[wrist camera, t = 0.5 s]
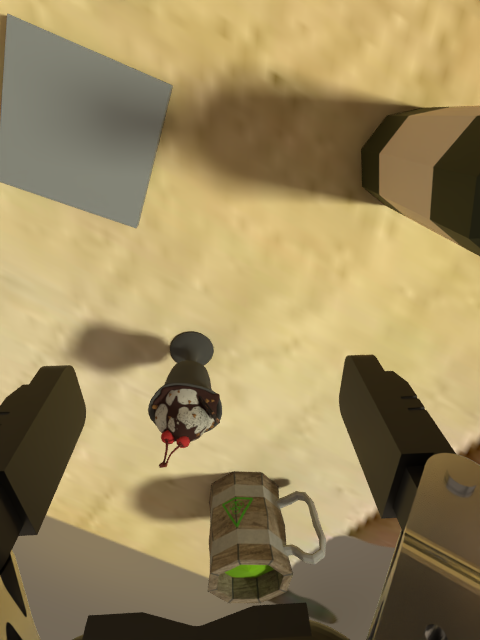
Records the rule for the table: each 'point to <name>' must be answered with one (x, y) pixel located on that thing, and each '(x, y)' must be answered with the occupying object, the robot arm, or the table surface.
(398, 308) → the table surface
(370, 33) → the table surface
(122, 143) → the slate mat
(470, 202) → the wine bottle
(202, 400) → the sundae
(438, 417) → the table surface
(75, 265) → the table surface
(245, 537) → the mug
